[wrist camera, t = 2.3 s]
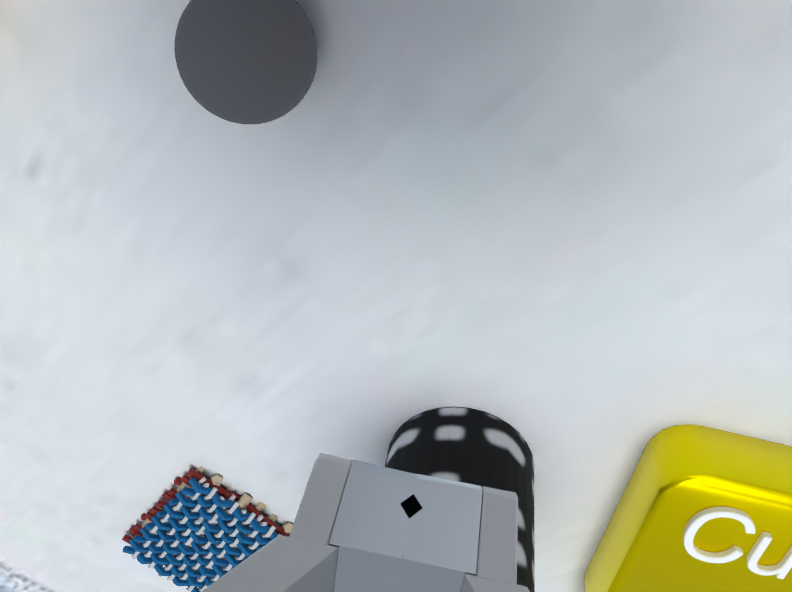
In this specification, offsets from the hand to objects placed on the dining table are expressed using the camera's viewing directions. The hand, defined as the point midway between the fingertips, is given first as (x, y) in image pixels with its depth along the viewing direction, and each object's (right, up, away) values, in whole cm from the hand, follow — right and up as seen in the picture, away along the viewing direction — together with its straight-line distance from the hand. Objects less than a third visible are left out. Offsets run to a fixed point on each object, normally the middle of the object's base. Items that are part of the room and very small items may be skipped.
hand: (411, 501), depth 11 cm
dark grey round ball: (-6, +13, +19) cm, 23 cm away
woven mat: (-12, -13, +39) cm, 43 cm away
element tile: (+20, -11, +32) cm, 39 cm away
